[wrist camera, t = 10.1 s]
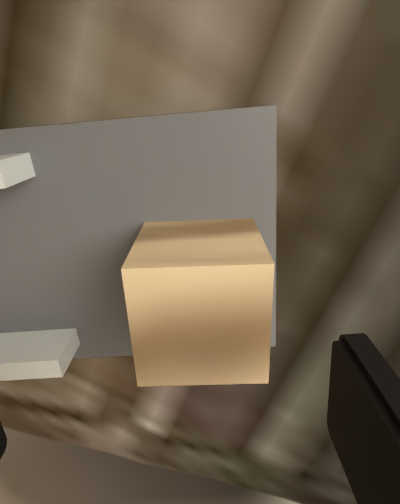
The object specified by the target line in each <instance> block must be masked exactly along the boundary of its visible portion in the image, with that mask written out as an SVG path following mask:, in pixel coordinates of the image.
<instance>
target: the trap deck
mask: <svg viewBox="0 0 400 504" xmlns="http://www.w3.org/2000/svg"><path fill="white" fill-rule="evenodd" d="M276 119H277V105H267V106H256V107H245V108H233V109H222V110H211V111H200V112H188V113H177V114H166V115H155V116H144V117H132V118H121V119H110V120H99V121H87V122H76V123H65V124H54V125H42V126H31V127H20V128H9V129H0V381H8V380H24V379H40V378H56V377H63V376H64V374H65V372H66V370H67V368H68V366H69V364H70V362H71V360H72V359H82V358H98V357H114V356H130V355H133V351H132V344H131V336H130V329H129V322H128V315H127V308H126V301H125V294H124V287H123V280H122V273H121V268H122V266H123V264H124V262H125V260H126V258H127V256H128V254H129V252H130V250H131V248H132V246H133V244H134V242H135V240H136V238H137V236H138V234H139V232H140V230H141V228H142V226H143V224H144V222H158V221H186V220H215V219H243V218H253V219H254V221H255V223H256V225H257V227H258V230H259V232H260V234H261V236H262V238H263V240H264V243H265V245H266V247H267V249H268V251H269V253H270V255H271V258H272V260H273V262H274V282H273V302H272V322H271V342H270V347H272V346H276Z"/></svg>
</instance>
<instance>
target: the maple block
mask: <svg viewBox="0 0 400 504" xmlns="http://www.w3.org/2000/svg"><path fill="white" fill-rule="evenodd" d="M121 273H122V280H123V287H124V294H125V301H126V308H127V315H128V322H129V329H130V336H131V344H132V351H133V358H134V365H135V372H136V379H137V386H138V387H140V386H179V385H218V384H257V383H268V381H269V362H270V342H271V322H272V302H273V282H274V262H273V260H272V258H271V255H270V253H269V251H268V249H267V247H266V245H265V243H264V240H263V238H262V236H261V234H260V232H259V230H258V227H257V225H256V223H255V221H254V219H253V218H243V219H215V220H186V221H158V222H144V224H143V226H142V228H141V230H140V232H139V234H138V236H137V238H136V240H135V242H134V244H133V246H132V248H131V250H130V252H129V254H128V256H127V258H126V260H125V262H124V264H123V266H122V268H121Z"/></svg>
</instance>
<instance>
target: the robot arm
mask: <svg viewBox="0 0 400 504" xmlns="http://www.w3.org/2000/svg"><path fill="white" fill-rule="evenodd" d="M327 425H328V430H329V434H330V436H331V439H332V441H333V444H334V446H335V449H336V451H337V454H338V456H339V459H340V461H341V464H342V466H343V469H344V471H345V474H346V476H347V479H348V481H349V484H350V486H351V489H352V491H353V494H354V496H355V499H356V501H357V504H400V379H399V377H398V376H397V375H396V373H395V372H394V371H393V369H392V368H391V367H390V365H389V364H388V363H387V361H386V360H385V359H384V357H383V356H382V355H381V353H380V352H379V351H378V349H377V348H376V347H375V346H374V344H373V343H372V342H371V340H370V339H369V338H368V336H367V335H366V334H363V333H361V334H345V335H341V336H340V337H339V341H334V342H333V344H332V355H331V370H330V384H329V399H328V414H327ZM6 444H7V438H6V435H5V432H4V430H3V427H2V424H1V422H0V459H1V457H2V455H3V453H4V451H5V449H6Z"/></svg>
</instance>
